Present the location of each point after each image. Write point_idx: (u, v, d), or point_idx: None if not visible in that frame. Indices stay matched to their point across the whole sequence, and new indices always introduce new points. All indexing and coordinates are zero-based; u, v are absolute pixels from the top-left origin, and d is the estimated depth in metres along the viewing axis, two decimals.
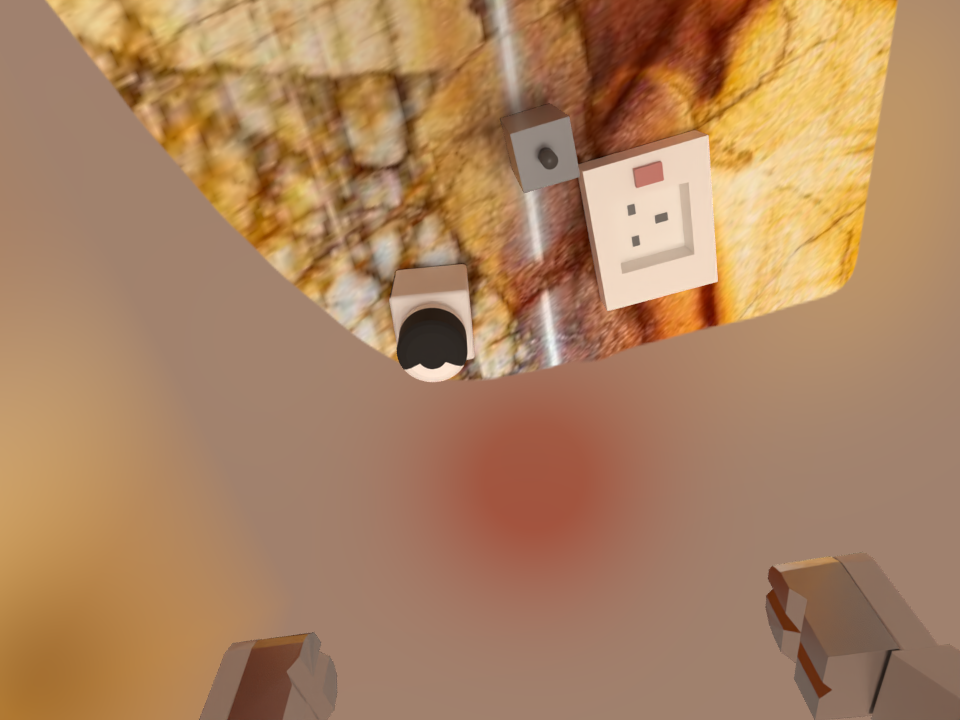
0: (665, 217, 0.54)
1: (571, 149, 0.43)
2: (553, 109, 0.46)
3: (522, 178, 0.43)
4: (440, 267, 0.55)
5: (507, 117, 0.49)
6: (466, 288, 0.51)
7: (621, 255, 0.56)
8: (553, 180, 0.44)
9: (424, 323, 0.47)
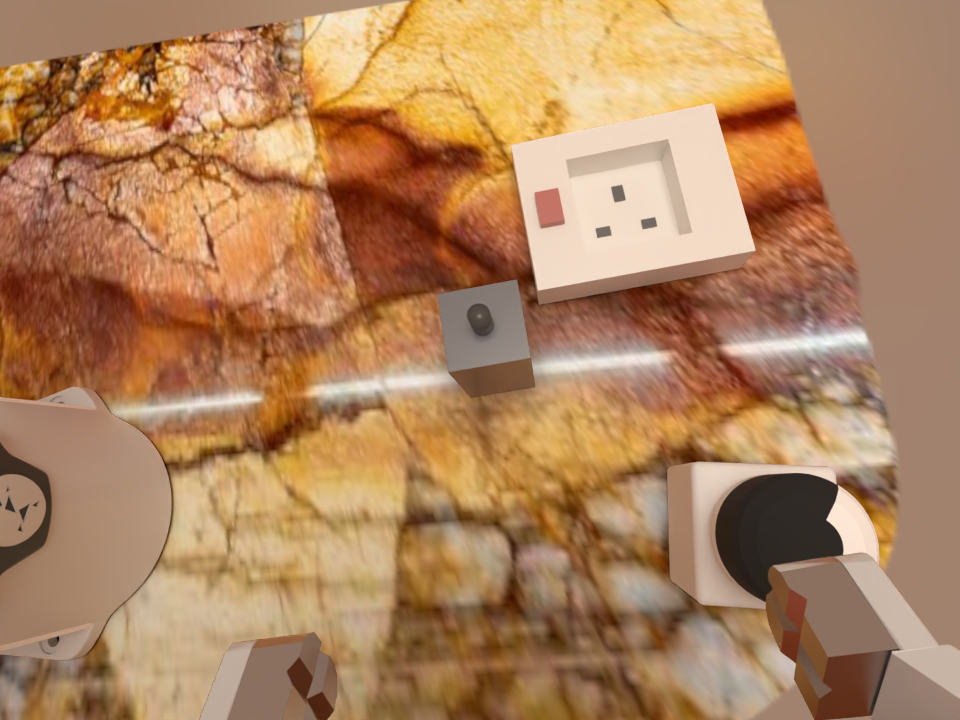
0: (618, 188, 0.41)
1: (479, 291, 0.31)
2: None
3: (509, 359, 0.30)
4: (669, 506, 0.35)
5: None
6: (690, 465, 0.30)
7: None
8: (517, 315, 0.31)
9: (735, 547, 0.25)
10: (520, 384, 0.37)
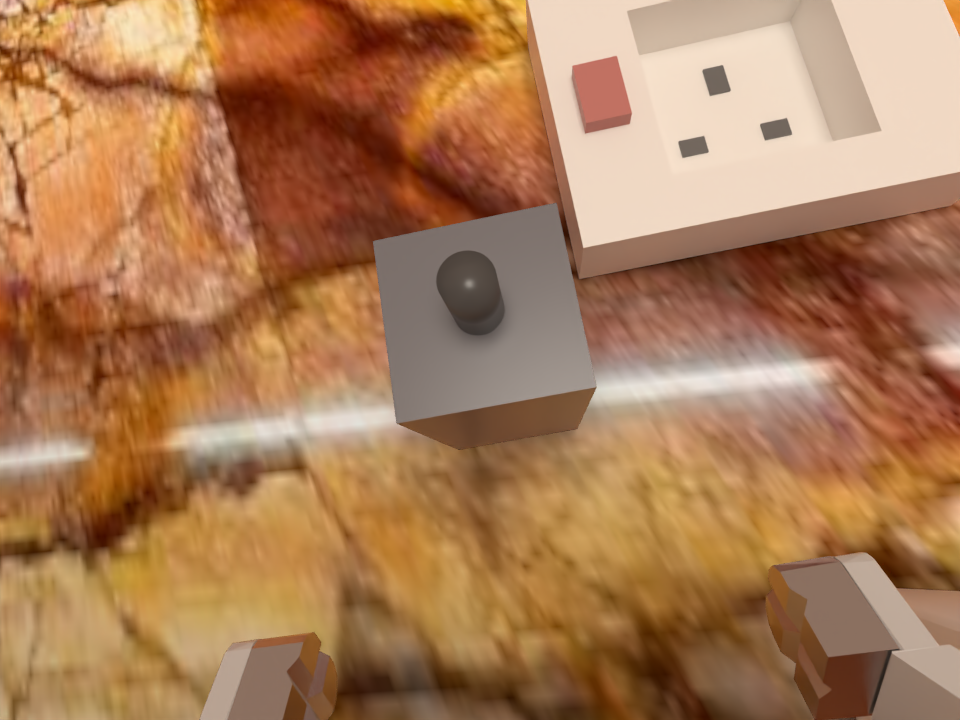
0: (715, 71, 0.23)
1: (469, 232, 0.13)
2: None
3: (544, 390, 0.12)
4: None
5: None
6: None
7: None
8: (561, 286, 0.13)
9: None
10: (552, 428, 0.19)
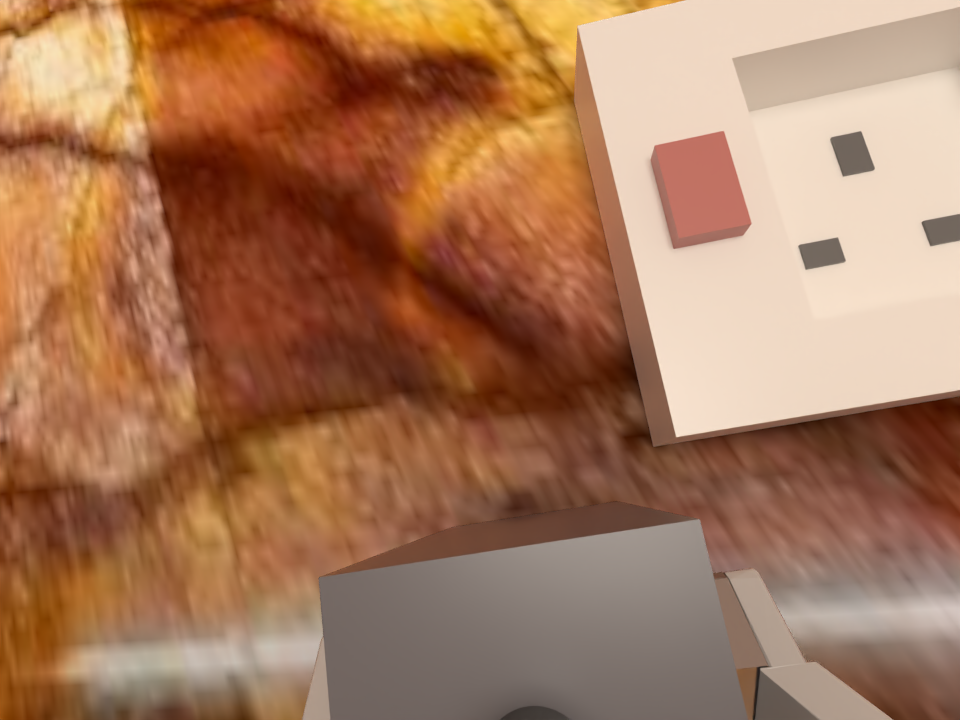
0: (850, 140, 0.16)
1: (514, 573, 0.06)
2: None
3: None
4: None
5: None
6: None
7: None
8: None
9: None
10: None
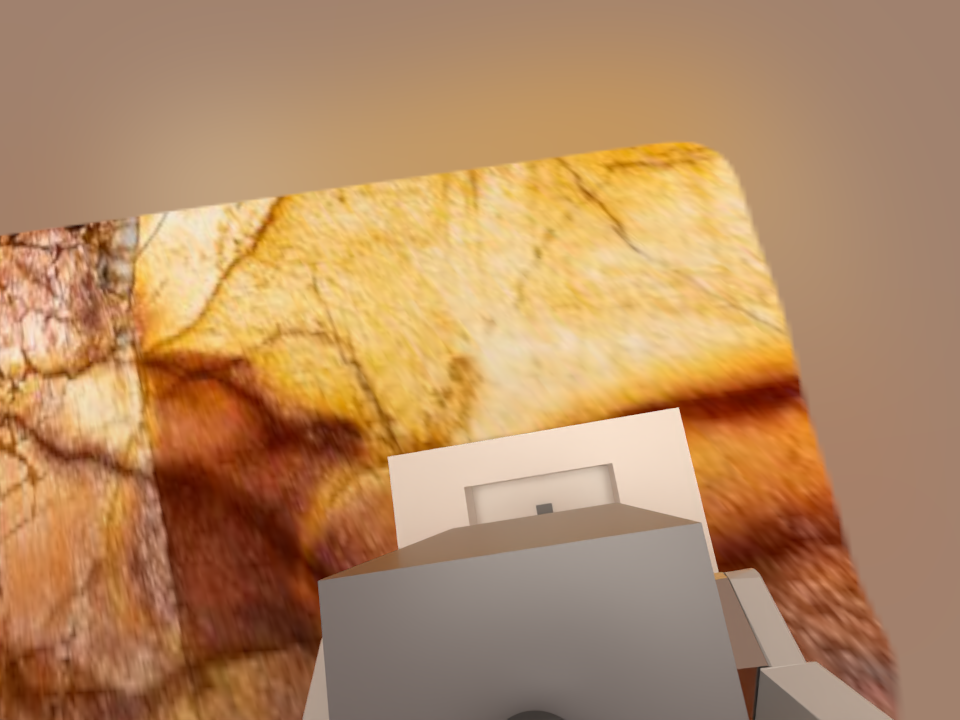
0: (545, 508, 0.28)
1: (515, 576, 0.06)
2: None
3: None
4: None
5: None
6: None
7: None
8: None
9: None
10: None
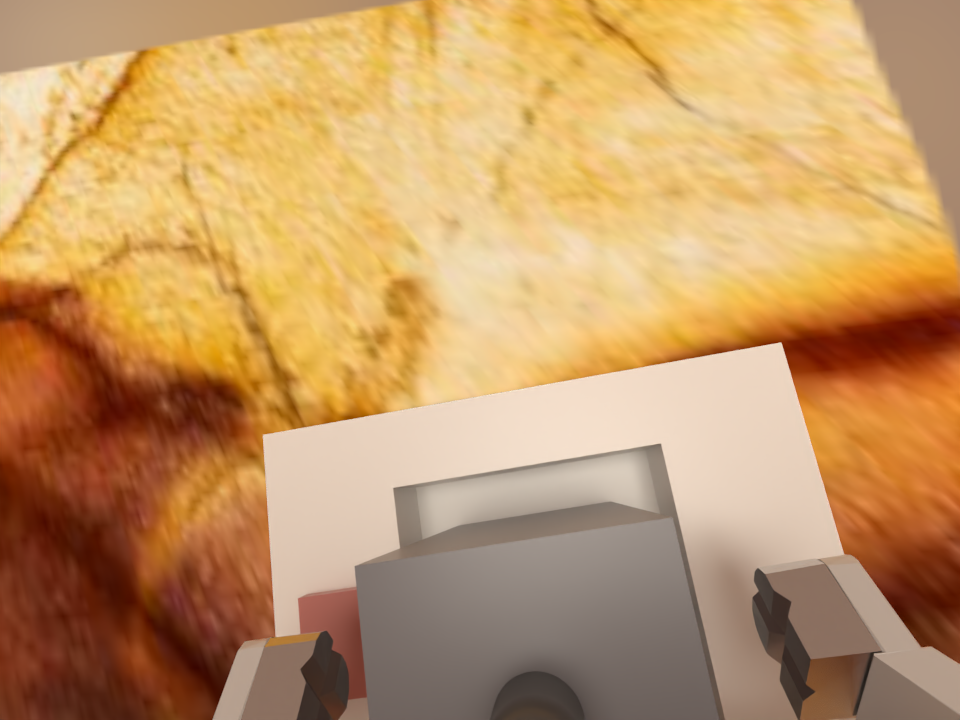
0: None
1: (518, 562, 0.08)
2: None
3: None
4: None
5: None
6: None
7: None
8: (686, 686, 0.07)
9: None
10: None
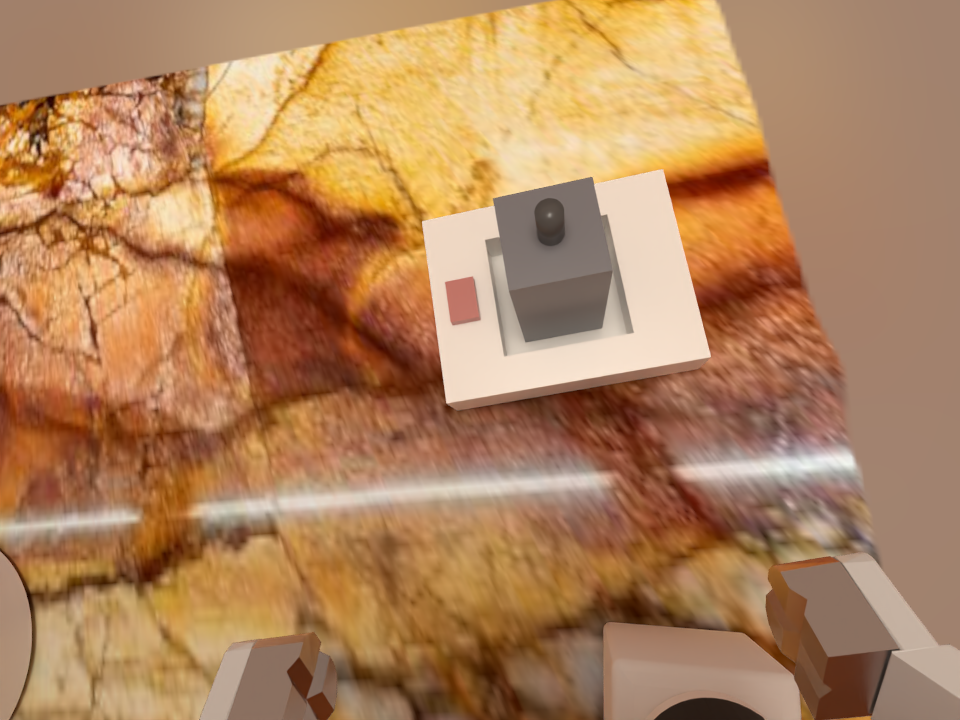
0: None
1: (545, 192, 0.25)
2: None
3: (586, 272, 0.24)
4: (603, 677, 0.29)
5: None
6: (612, 658, 0.24)
7: (612, 334, 0.32)
8: (594, 220, 0.25)
9: None
10: (586, 322, 0.31)
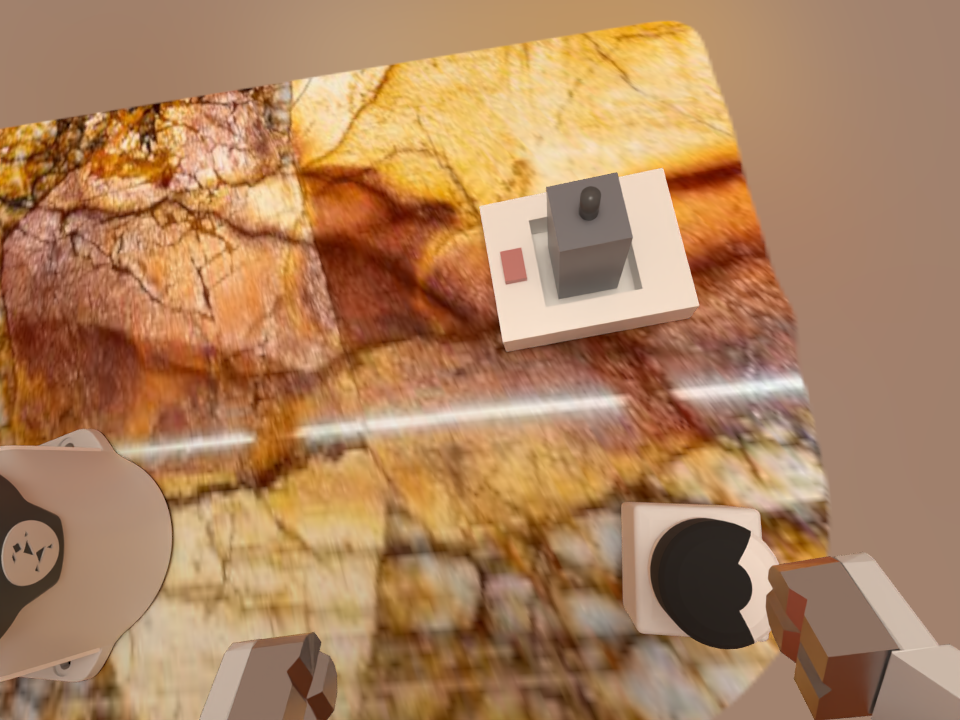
0: None
1: (583, 183, 0.35)
2: (548, 228, 0.41)
3: (614, 239, 0.34)
4: (622, 539, 0.39)
5: (557, 288, 0.43)
6: (633, 506, 0.34)
7: None
8: (619, 202, 0.35)
9: (661, 586, 0.28)
10: (607, 282, 0.41)
